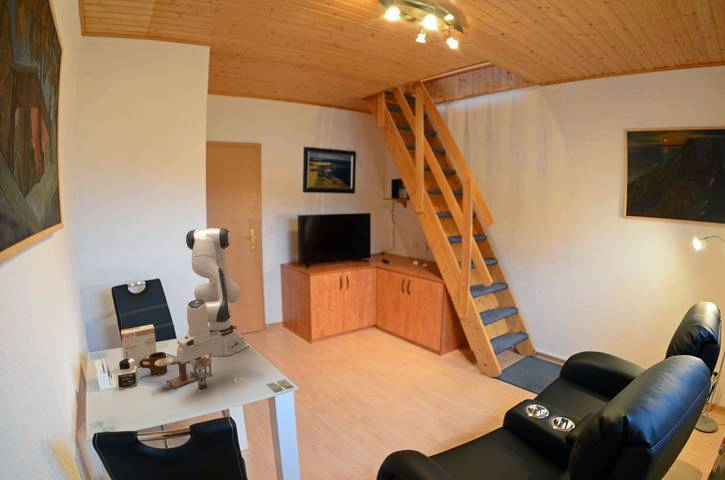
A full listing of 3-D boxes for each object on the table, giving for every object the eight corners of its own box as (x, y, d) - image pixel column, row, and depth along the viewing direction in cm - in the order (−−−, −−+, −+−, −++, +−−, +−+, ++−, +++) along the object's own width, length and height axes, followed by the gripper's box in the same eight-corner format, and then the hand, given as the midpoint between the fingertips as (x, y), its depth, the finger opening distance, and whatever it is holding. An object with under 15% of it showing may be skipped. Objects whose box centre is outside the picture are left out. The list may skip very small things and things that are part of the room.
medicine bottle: (118, 389, 182) (116, 364, 181) (121, 382, 189) (118, 358, 187) (136, 386, 185) (134, 361, 184) (138, 379, 192) (136, 355, 190)
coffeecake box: (156, 358, 216) (153, 323, 213) (157, 363, 210) (154, 327, 207) (124, 365, 207) (120, 329, 205) (124, 370, 201) (121, 333, 199)
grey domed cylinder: (204, 385, 185) (203, 375, 185) (208, 387, 183) (207, 378, 182) (197, 388, 183) (196, 378, 182) (200, 390, 180) (200, 381, 180)
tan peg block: (206, 371, 187) (204, 356, 186) (212, 375, 183) (210, 360, 182) (193, 376, 183) (192, 361, 182) (200, 380, 179) (198, 365, 178)
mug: (141, 380, 191) (139, 361, 189) (139, 374, 197) (137, 356, 196) (168, 373, 198) (167, 355, 197) (165, 368, 204) (164, 350, 203)
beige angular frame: (270, 377, 193) (269, 375, 193) (238, 390, 180) (238, 388, 180) (241, 362, 209) (241, 361, 209) (210, 374, 197) (210, 372, 197)
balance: (202, 370, 201) (200, 345, 199) (211, 375, 195) (209, 350, 193) (153, 387, 183) (151, 361, 182) (161, 394, 178) (159, 367, 176)
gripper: (217, 327, 190) (219, 354, 192) (173, 341, 174) (176, 370, 177) (224, 330, 185) (226, 358, 188) (180, 345, 170) (183, 375, 173)
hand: (202, 364), depth 182 cm, fingers closed on tan peg block, 6 cm apart
